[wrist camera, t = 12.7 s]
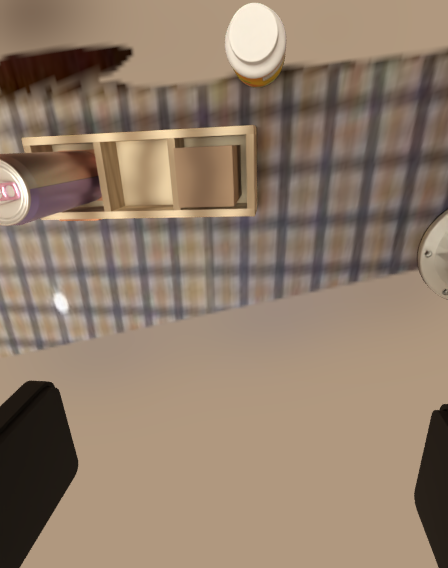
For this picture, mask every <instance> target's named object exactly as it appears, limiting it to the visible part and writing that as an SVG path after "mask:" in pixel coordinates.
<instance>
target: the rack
mask: <svg viewBox="0 0 448 568" xmlns="http://www.w3.org/2000/svg"><path fill="white" fill-rule="evenodd" d="M22 143H23V147H24V151H25V153H37V152H62V151H85V152H88V153H91V154H92V155H94V156H95V159H96V164H97V170H98V176H99V182H100V188H101V194H102V197H101V198H99V199H98V200H96V201H93V202H90V203H87V204H84V205H81V206H78V207H75V208H72V209H68V210H65V211H62V212H59V213H56V214H53V215H50V216H47V217H44V218H41V220H57V219H60V221H88V220H101V219H114V218H172V217H229V216H255V214H256V210H257V132H256V126H254V125H247V126H229V127H211V128H193V129H174V130H156V131H138V132H120V133H102V134H84V135H66V136H48V137H30V138H22ZM222 145H240V146H241V186H242V195H241V197H240V198H239V200H238V201H237V203H236V204H235V206H230V207H183V208H179V203H178V192H177V181H176V170H175V159H174V148H183V147H201V146H222Z"/></svg>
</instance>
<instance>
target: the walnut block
mask: <svg viewBox="0 0 448 568" xmlns="http://www.w3.org/2000/svg"><path fill="white" fill-rule="evenodd" d="M174 159H175V170H176V181H177V192H178V203H179V208H183V207H230V206H235V204H236V203H237V201H238V200H239V198H240V197H241V195H242V186H241V146H240V145H222V146H201V147H183V148H174Z"/></svg>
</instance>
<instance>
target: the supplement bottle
mask: <svg viewBox="0 0 448 568" xmlns="http://www.w3.org/2000/svg"><path fill="white" fill-rule="evenodd" d="M285 50H286V32H285V28H284V25H283V23H282V20H281V19H280V17H279V16H278V15H277V13H276V12H275V11H273V10H272V9H271V8H269V7H267V6H265V5H263V4H260V3H250V4H247V5H245V6H243V7H242V8H240V9H239V10H238V11H237V12H236V13H235V15H234V16H233V18H232V20H231V22H230V24H229V26H228V29H227V32H226V36H225V51H226V55H227V58H228V61H229V63H230V65H231V66H232V68H233V70H234V71H235V73H236V75H237V76H238V78H239V79H240V80H241V81H242V82H243V83H244V84H246V85H248V86H250V87H256V88H259V87H264V86H266V85H268V84H270V83H271V82H273V81H274V80H275V79H276V78H277V77H278V75H279V74H280V72H281V70H282V67H283V64H284V59H285Z"/></svg>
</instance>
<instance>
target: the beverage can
mask: <svg viewBox="0 0 448 568" xmlns="http://www.w3.org/2000/svg"><path fill="white" fill-rule="evenodd" d="M101 197H102V194H101V188H100V182H99V176H98V170H97V164H96V159H95V156H94V155H92V154H91V153H88V152H85V151H62V152H37V153H13V154H0V225H4V226H9V225H22V224H25V223H28V222H31V221H34V220H37V219H40V218H44V217H47V216H50V215H53V214H56V213H59V212H62V211H65V210H68V209H72V208H75V207H78V206H81V205H84V204H87V203H90V202H93V201H96V200H98V199H99V198H101Z"/></svg>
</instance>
